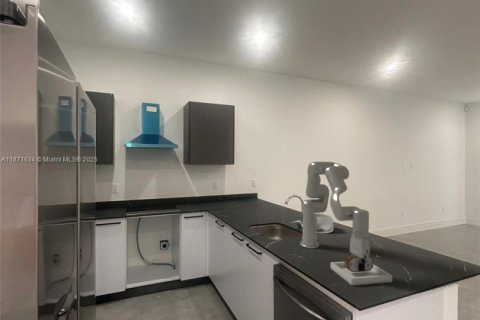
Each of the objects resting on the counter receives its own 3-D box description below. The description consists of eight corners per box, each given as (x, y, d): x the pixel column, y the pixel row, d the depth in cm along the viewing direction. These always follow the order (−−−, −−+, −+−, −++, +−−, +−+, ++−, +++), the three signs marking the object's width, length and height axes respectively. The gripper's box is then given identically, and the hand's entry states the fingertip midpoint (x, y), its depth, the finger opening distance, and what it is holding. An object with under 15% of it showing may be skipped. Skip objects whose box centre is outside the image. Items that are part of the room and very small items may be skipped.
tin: (370, 269, 127) (370, 253, 127) (374, 271, 124) (374, 255, 124) (344, 270, 124) (344, 254, 125) (348, 273, 121) (348, 256, 122)
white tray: (330, 268, 131) (330, 262, 131) (366, 265, 135) (366, 260, 135) (351, 285, 113) (351, 278, 113) (392, 282, 117) (392, 275, 117)
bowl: (328, 227, 212) (329, 214, 212) (333, 234, 193) (333, 219, 193) (305, 226, 216) (305, 212, 215) (307, 232, 197) (308, 218, 197)
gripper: (344, 229, 132) (343, 262, 132) (364, 239, 116) (363, 277, 116) (356, 228, 133) (355, 262, 133) (378, 238, 117) (377, 276, 117)
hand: (359, 268), depth 124 cm, fingers closed on tin, 2 cm apart
